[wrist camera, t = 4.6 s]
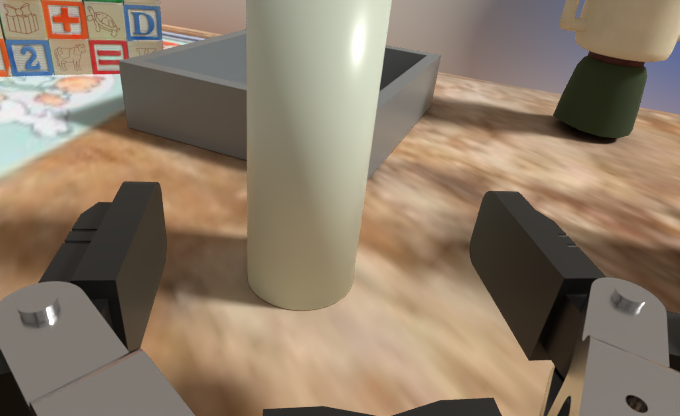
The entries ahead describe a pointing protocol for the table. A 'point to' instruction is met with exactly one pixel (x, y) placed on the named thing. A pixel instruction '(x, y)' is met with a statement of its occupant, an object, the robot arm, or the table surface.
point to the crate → (231, 95)
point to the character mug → (614, 60)
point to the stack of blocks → (75, 35)
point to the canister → (309, 143)
